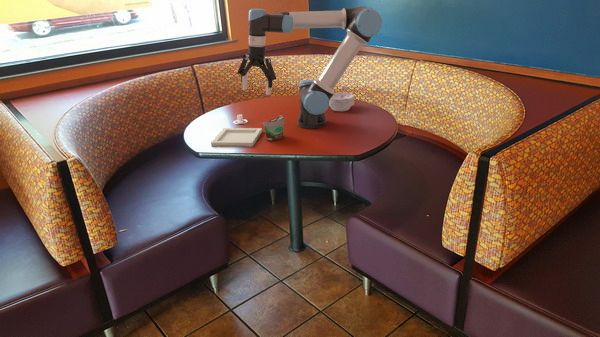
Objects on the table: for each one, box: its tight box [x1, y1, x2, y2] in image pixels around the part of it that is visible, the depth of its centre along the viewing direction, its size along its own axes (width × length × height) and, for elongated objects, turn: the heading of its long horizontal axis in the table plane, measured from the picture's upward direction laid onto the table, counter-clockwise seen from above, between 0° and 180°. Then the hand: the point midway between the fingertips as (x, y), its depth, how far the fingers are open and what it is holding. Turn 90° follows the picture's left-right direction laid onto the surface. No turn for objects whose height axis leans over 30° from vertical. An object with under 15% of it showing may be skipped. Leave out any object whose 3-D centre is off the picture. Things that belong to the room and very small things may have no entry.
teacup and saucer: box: [232, 114, 248, 125], centre depth 243 cm, size 9×8×4 cm
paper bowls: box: [329, 92, 355, 112], centre depth 254 cm, size 15×15×8 cm
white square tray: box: [210, 127, 263, 148], centre depth 219 cm, size 20×20×2 cm
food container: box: [262, 114, 286, 143], centre depth 215 cm, size 12×6×10 cm, turn 143°
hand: (256, 92), depth 211 cm, fingers open, 13 cm apart
